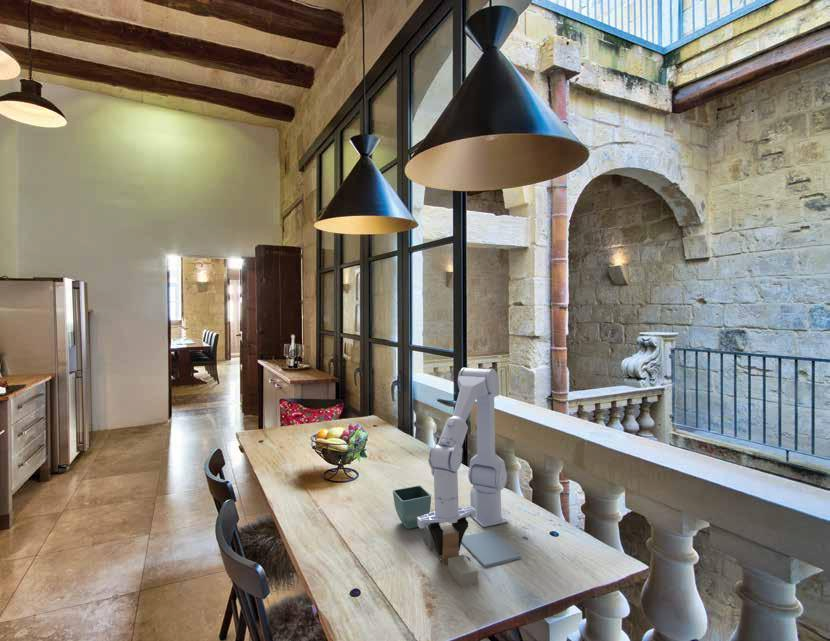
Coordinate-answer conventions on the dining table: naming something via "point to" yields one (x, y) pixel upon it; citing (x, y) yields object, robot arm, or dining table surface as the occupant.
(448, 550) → the tall walnut block
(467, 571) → the pale grey block
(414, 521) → the flower pot
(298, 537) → the dining table surface
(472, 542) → the slate mat
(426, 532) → the grey cube
